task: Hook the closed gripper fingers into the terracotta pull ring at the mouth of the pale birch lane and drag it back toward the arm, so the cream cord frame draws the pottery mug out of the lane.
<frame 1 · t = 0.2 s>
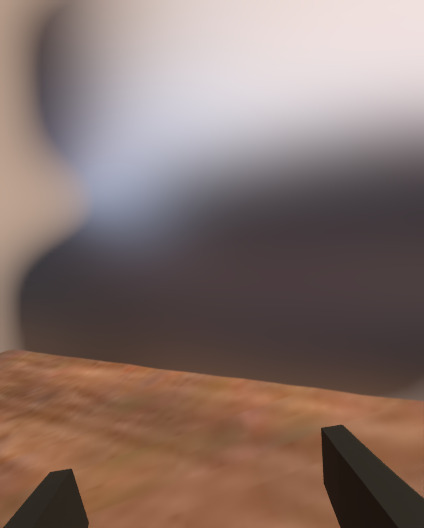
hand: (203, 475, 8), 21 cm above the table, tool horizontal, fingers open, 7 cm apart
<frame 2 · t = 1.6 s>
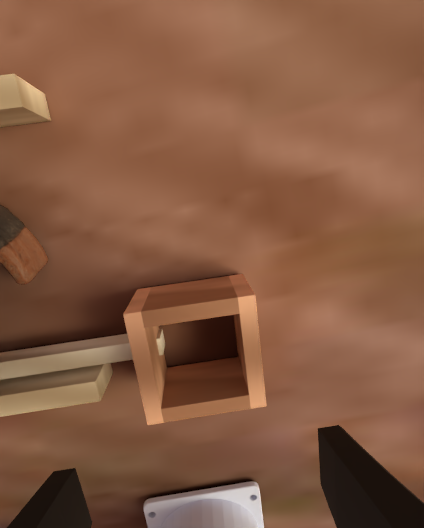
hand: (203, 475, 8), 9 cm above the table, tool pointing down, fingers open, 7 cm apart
pull frame: (8, 293, 14), point 2 cm above the table, slide at 0.0 cm, touching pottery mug
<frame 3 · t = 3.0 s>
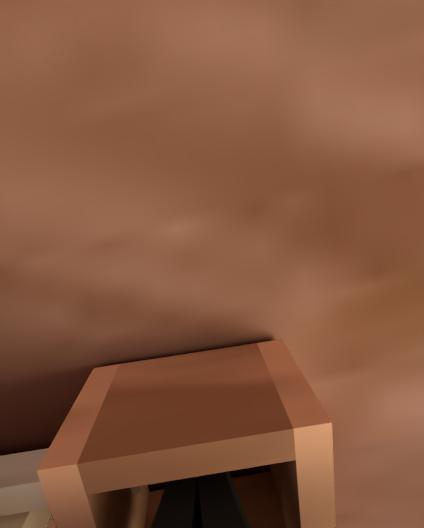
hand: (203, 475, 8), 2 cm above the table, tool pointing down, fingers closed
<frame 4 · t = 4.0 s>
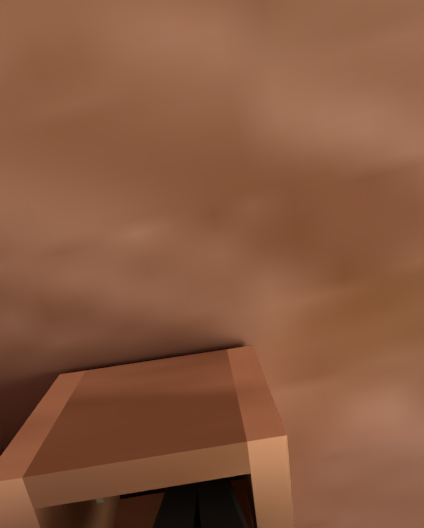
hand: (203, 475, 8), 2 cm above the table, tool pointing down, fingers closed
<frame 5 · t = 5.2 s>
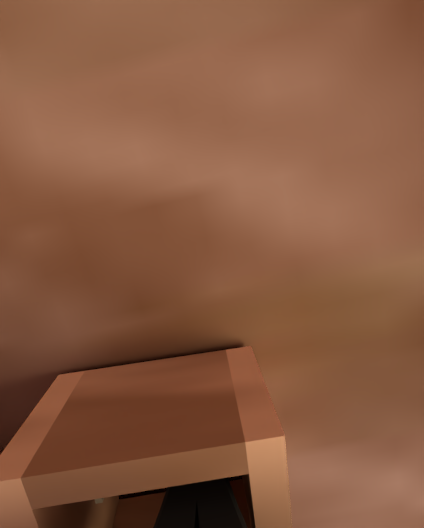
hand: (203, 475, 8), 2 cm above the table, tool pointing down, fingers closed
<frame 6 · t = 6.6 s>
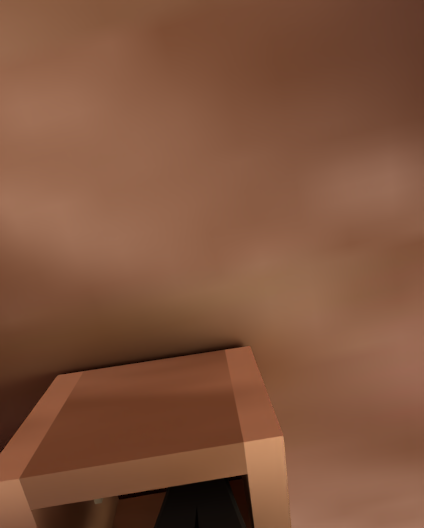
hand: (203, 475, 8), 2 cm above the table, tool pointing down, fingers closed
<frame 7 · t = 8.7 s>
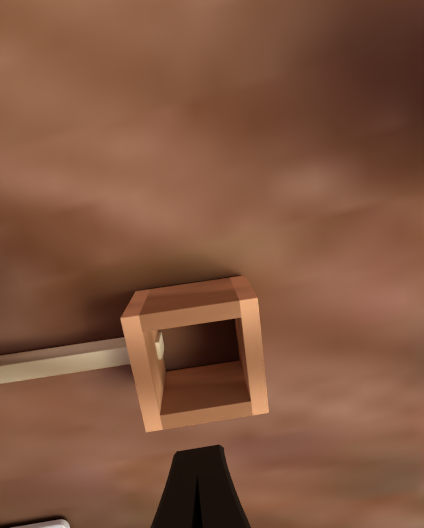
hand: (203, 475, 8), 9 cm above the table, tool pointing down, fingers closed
pull frame: (1, 295, 14), point 2 cm above the table, slide at 13.0 cm, touching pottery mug
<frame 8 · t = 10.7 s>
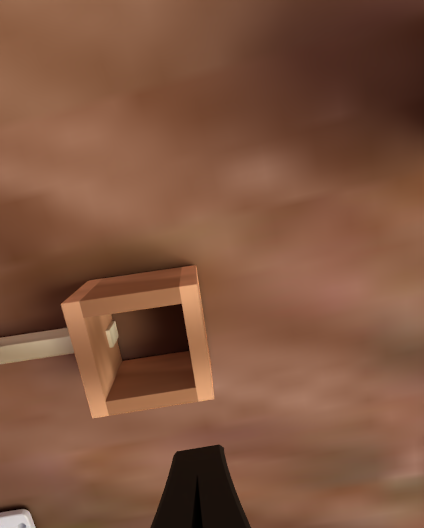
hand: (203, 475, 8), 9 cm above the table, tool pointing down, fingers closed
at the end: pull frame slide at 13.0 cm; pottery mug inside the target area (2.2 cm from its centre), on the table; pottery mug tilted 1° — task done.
